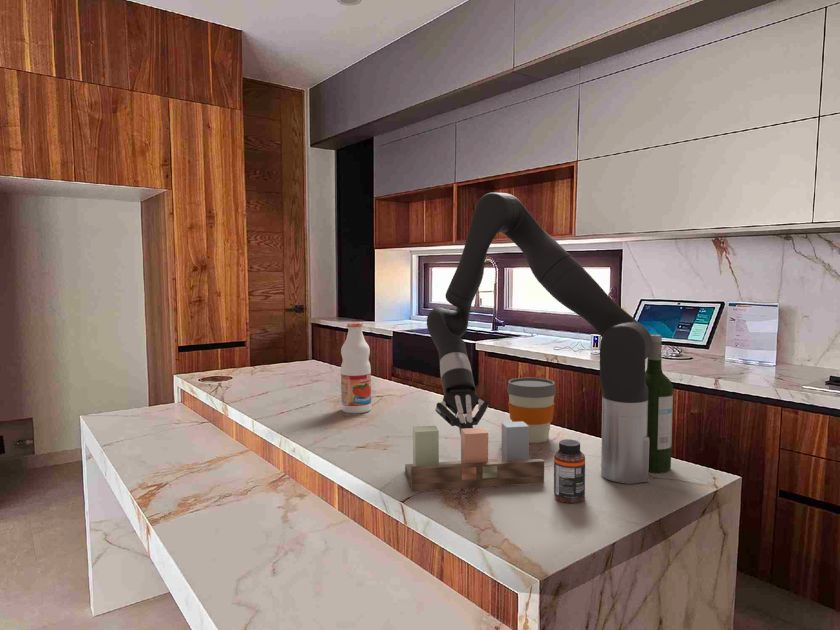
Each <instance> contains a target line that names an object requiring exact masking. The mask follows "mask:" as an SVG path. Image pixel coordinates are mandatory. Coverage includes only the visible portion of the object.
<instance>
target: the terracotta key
mask: <svg viewBox="0 0 840 630" xmlns="http://www.w3.org/2000/svg"><path fill="white" fill-rule="evenodd" d="M488 459H489V431H487V430H486V429H485V428H484V427H473V428H465V429H461V436H460V461H461V464H464V463H481V462H488Z"/></svg>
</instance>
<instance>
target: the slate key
mask: <svg viewBox="0 0 840 630" xmlns="http://www.w3.org/2000/svg"><path fill="white" fill-rule="evenodd" d="M529 451H530V443H529V426H528V425H527V424H526V423H524V422H523V421H521V422H512V421H505V422H504V421H503V422H501V453H500V454H501V457H500V459H501V461H515V460H530V452H529Z"/></svg>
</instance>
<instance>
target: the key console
mask: <svg viewBox="0 0 840 630" xmlns="http://www.w3.org/2000/svg"><path fill="white" fill-rule="evenodd" d="M404 470H405V473H406V477H407V481H408V483H409V486H410V489H411V492H423V491H424V492H425V491H439V490H440V491H441V490H457V489H471V488H483V487H484V488H485V487H486V488H487V487H499V486H501V487H502V486H515V485H518V486H519V485H529V484H530V485H532V484H544V483H545V460H544V459H543V458H536V459H533V458H532V459H529V460H515V461H501V458H491V459H489V458H488V462H481V463H464V464H461V460H455V461H439V465H430V466H413V463H406V464H404Z"/></svg>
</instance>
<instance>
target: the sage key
mask: <svg viewBox="0 0 840 630" xmlns="http://www.w3.org/2000/svg"><path fill="white" fill-rule="evenodd" d="M439 433H440V432H439V429H438V427H437V426H436V425H422V426H421V425H420V426H419V425H418V426H412V457H413V458H412V459H413V460H412V461H413V463H412V464H413V466H430V465H439V462H440V457H439V456H440V455H439V454H440V451H439V450H440V448H439V447H440V445H439V444H440V443H439V440H440V438H439V437H440V436H439Z"/></svg>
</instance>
